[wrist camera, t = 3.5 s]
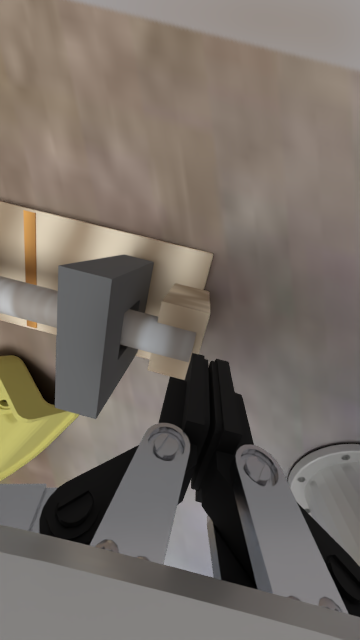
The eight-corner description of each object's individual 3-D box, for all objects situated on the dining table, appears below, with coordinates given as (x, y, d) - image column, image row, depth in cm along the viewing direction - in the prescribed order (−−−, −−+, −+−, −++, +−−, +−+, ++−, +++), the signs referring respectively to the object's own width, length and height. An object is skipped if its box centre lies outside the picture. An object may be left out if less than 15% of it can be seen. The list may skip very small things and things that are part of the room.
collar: (154, 261, 17) (111, 279, 9) (138, 351, 20) (95, 419, 12) (124, 254, 17) (58, 265, 9) (112, 344, 20) (54, 407, 12)
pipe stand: (218, 254, 19) (226, 264, 11) (188, 361, 23) (179, 423, 15) (-43, 190, 20) (-205, 157, 12) (-28, 304, 24) (-143, 336, 16)
